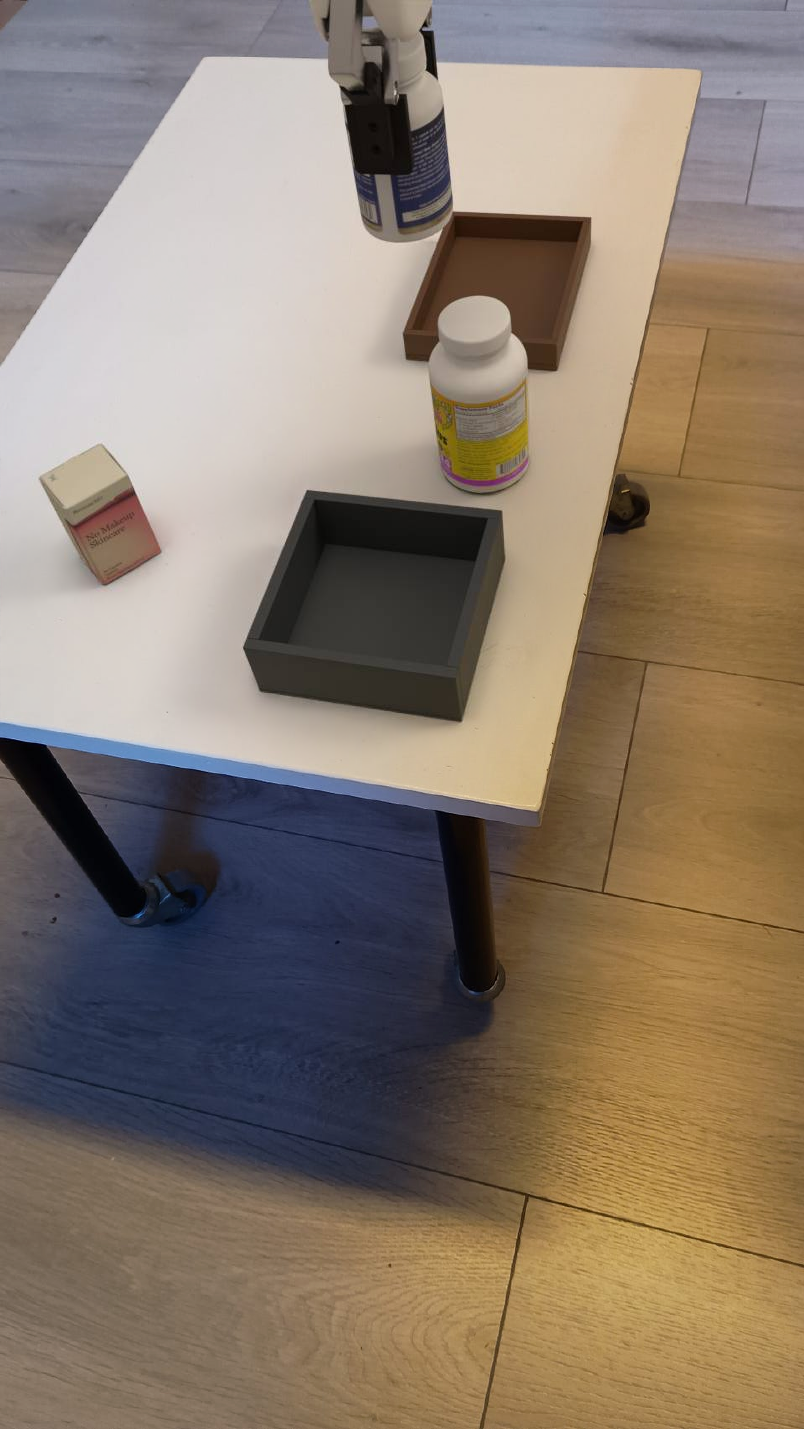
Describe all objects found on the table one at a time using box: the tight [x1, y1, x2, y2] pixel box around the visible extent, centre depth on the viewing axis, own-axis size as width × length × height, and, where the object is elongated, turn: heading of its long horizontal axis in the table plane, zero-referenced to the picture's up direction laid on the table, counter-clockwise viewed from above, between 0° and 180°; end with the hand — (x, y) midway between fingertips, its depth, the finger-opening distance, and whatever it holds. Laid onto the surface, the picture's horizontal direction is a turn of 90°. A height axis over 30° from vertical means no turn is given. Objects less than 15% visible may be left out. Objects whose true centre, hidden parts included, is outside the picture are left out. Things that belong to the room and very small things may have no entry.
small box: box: [38, 443, 162, 585], centre depth 78 cm, size 5×4×8 cm
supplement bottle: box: [427, 296, 531, 494], centre depth 76 cm, size 7×7×13 cm
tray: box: [402, 210, 592, 371], centre depth 91 cm, size 16×12×2 cm
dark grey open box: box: [242, 489, 506, 723], centre depth 73 cm, size 14×14×5 cm
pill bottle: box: [342, 26, 454, 244], centre depth 61 cm, size 5×5×10 cm
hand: (398, 135), depth 61 cm, fingers closed on pill bottle, 5 cm apart
